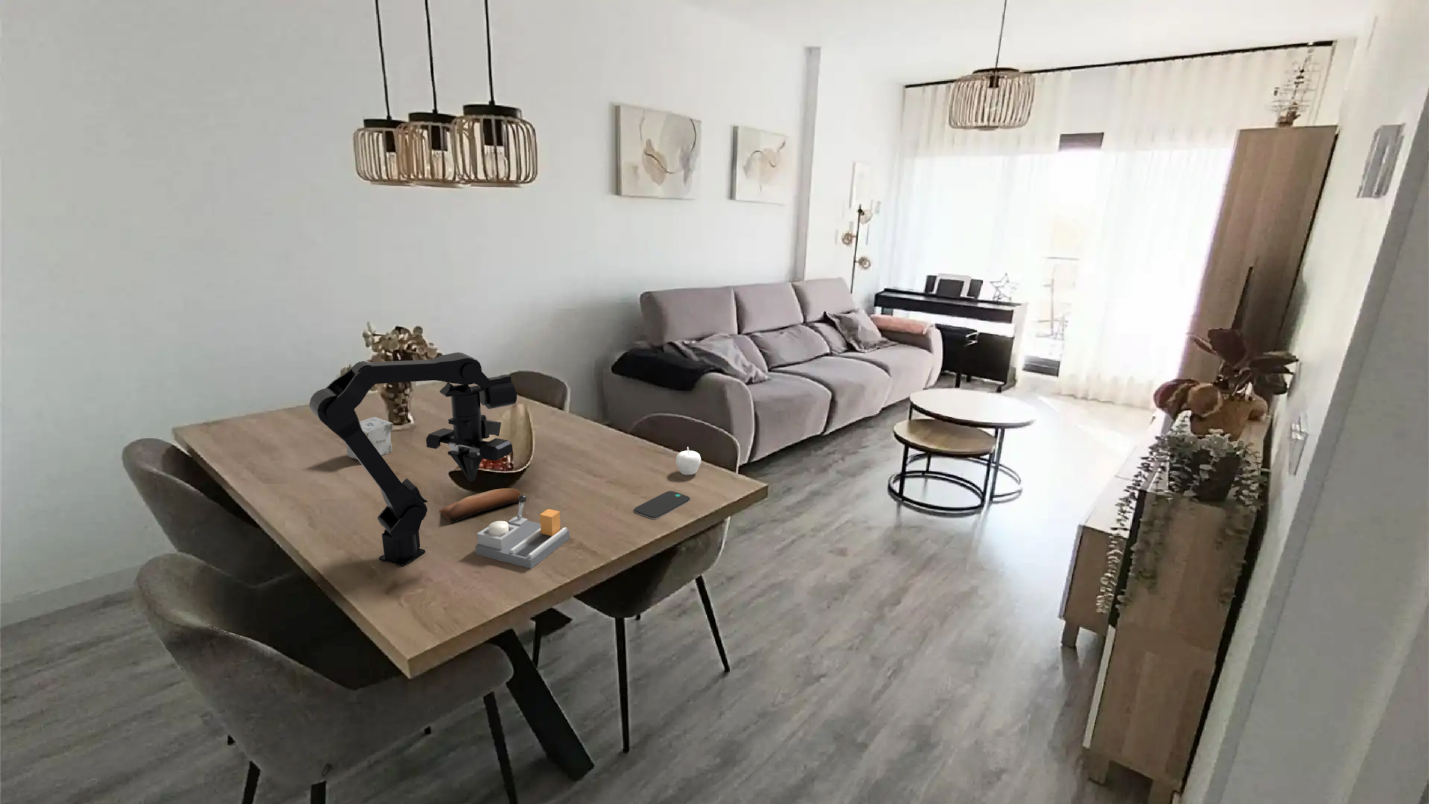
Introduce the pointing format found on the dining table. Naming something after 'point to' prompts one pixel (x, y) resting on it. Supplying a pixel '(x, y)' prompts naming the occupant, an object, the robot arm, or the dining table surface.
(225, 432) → the dining table surface
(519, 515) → the toggle lever
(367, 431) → the white printed carton
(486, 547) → the panel
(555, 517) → the slider knob
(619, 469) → the dining table surface
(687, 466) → the plain white apple
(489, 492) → the sunglasses case
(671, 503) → the smartphone
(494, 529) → the button
